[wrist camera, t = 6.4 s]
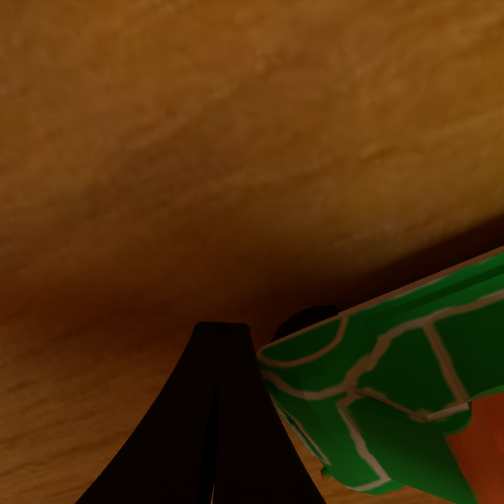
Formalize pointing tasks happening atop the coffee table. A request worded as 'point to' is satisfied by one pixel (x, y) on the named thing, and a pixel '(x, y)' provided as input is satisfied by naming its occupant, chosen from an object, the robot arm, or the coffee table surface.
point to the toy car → (402, 385)
